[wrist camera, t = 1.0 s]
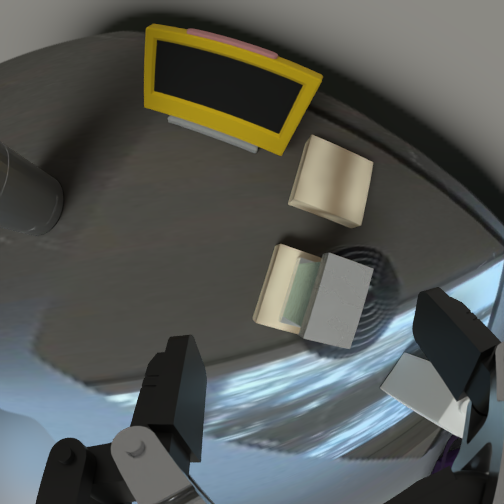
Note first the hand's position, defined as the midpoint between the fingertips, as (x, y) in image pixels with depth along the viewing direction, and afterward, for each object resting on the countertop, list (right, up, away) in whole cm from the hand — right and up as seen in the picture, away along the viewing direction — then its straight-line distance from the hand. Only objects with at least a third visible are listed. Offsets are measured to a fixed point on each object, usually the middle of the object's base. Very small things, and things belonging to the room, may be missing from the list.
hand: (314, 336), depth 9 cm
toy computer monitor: (-7, +22, +29) cm, 37 cm away
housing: (+5, -2, +26) cm, 26 cm away
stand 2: (+9, +12, +31) cm, 34 cm away
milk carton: (+23, -18, +31) cm, 43 cm away
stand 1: (+4, -3, +29) cm, 29 cm away
